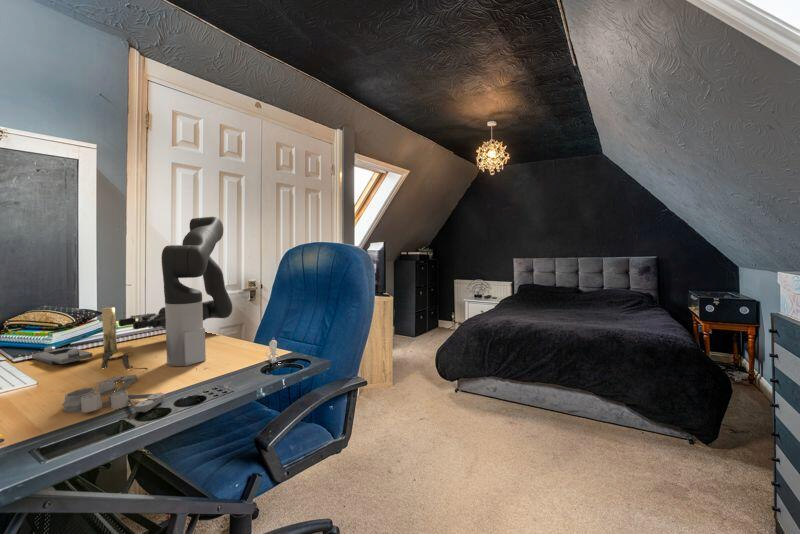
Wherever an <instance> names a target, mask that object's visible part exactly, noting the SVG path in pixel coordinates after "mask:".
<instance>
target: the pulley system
mask: <svg viewBox="0 0 800 534" xmlns="http://www.w3.org/2000/svg"><path fill="white" fill-rule="evenodd" d="M121 379H122V380H121ZM120 380H121V381H120ZM136 380H137V381H138V376H137V374H130V375H124V376H120V375H119V376H113V377H110V378H107V379H105V380H102V381H99V382H98V383H97V384H96V385H97V392H96V388H95V387H84V388H81V389H80V388H79V389H76V390H74V391H71V392H68V393H65V395H64V399H65V400H64V401H63V403H62V404H61V406H63V411H64V412H65V413H67V414H72V413H74V414H75V413H80V412H82V413H89V412H93V411H94V412H95V411H96V410H99V409H102V408H105V407H110V406H111V407H110V408H112V409H111V410H113V409H114V410H120V409H123V408H125V407H127V406H129V405H131V406H132V408H133V410H134V411H135V412H137V413H147V412H149V411H150V410H151V409H153V408H154V407H156V406H157V405H158V404H159V403H161V402H163V401H164V400H165V399H166V398H165V393H164V392H156V393H145V394H144V393H143V394H128V390H125V389H126V388H128V387H129V386H131V385H133V384H134V383H135V382H137V381H136ZM119 381H120V382H121V383H122V382H124V383H123V385H122V386H120V387H119V388H117V389H116V386H115V384H117V383H116V382H118V383H120V382H119ZM133 382H134V383H133ZM114 383H115V384H114ZM130 384H131V385H130ZM128 385H129V386H128ZM127 386H128V387H127ZM124 388H125V389H124ZM123 389H124V390H123ZM115 390H116V391H115ZM121 390H122V391H121ZM114 391H115V392H114ZM111 392H113V393H111ZM108 393H110V394H108ZM105 394H107V395H108V398H109V399H108V400H109V401H106V402H102V398H101V397H103V396H106V395H105ZM102 395H103V396H102ZM139 399H140V400H141V399H142V400H143V399H147V400H143V401H142V400H141V401H139V402H137V403H136V404H135V403H134V402H133V401H132V400H139ZM101 407H102V408H101ZM119 408H120V409H119Z"/></svg>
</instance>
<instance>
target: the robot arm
mask: <svg viewBox="0 0 800 534" xmlns="http://www.w3.org/2000/svg"><path fill="white" fill-rule="evenodd" d="M223 235H224V225H223V222H222V221H221V219H220V218H219V217H217V216H203V217H193V218H191V219H190V221H189V231H188V232H187V234H185V236H184V238H183V240H182V244H180V245H176V244H174V245H169V244H168V245H166V246H164V248H162V252H161V270H162V279H163V293H164V307H163V306H162V308H160V309H159V311H158V312H157V313H156V312H155V313H154V312H153V313H152V312H151V313H145V314H143V313H142V314H138V315H130V317H128V318H122V319H119V320H118V326H119V327H127V326H132V329H133V330H140V329H145V328H147V329H148V328H149V329H151V328H153V329H156V328H160V327H161V328H163V330H164V329H165V341H166V342H165V346H166V364H167V366H171V367H189V366H192V365H195V364H199V363H201V362H204V361H206V360H207V358H206V357H207V356H206V354H207V353H206V329H205V328H204V321H206V320H208V319H227V318H229V317H230V316H231V314H232V312H233V302H232V300H231V298H230V296H229V292H228V291H227V289H226V285H225V279H224V273H223V271H222V269H221V267H220V266H219V264H218V263H217V262H216V261H215V260H214V259H213V258H212V257H211V254H212V253H213V251H214V249H215V246H216V245H217V244H218V242H219V241H221V240H222V238H223ZM200 277H202V278H203V284H204V290H205V293H206V295H208V296H211V298H212V300H207V301H203V293H202V292H203V291H201V290H199V289H196V288H192V287H189V286H187V285H185V284H183V283H182V282H180V279H187V278H189V279H191V278H192V279H193V278H200Z"/></svg>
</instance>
